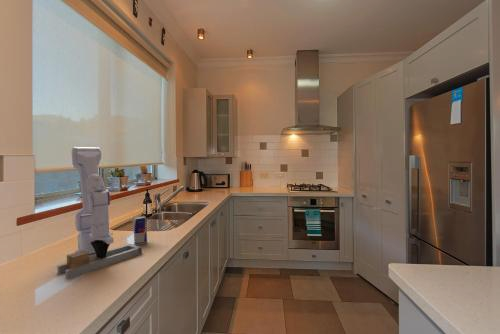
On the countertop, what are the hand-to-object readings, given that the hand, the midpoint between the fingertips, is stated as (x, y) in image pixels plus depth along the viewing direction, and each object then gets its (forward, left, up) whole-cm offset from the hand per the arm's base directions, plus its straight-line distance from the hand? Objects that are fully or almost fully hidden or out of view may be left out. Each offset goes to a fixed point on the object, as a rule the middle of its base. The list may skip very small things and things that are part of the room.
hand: (101, 259), depth 95 cm
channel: (0, -1, -1) cm, 1 cm away
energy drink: (-8, +20, -1) cm, 22 cm away
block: (0, -6, -1) cm, 6 cm away
